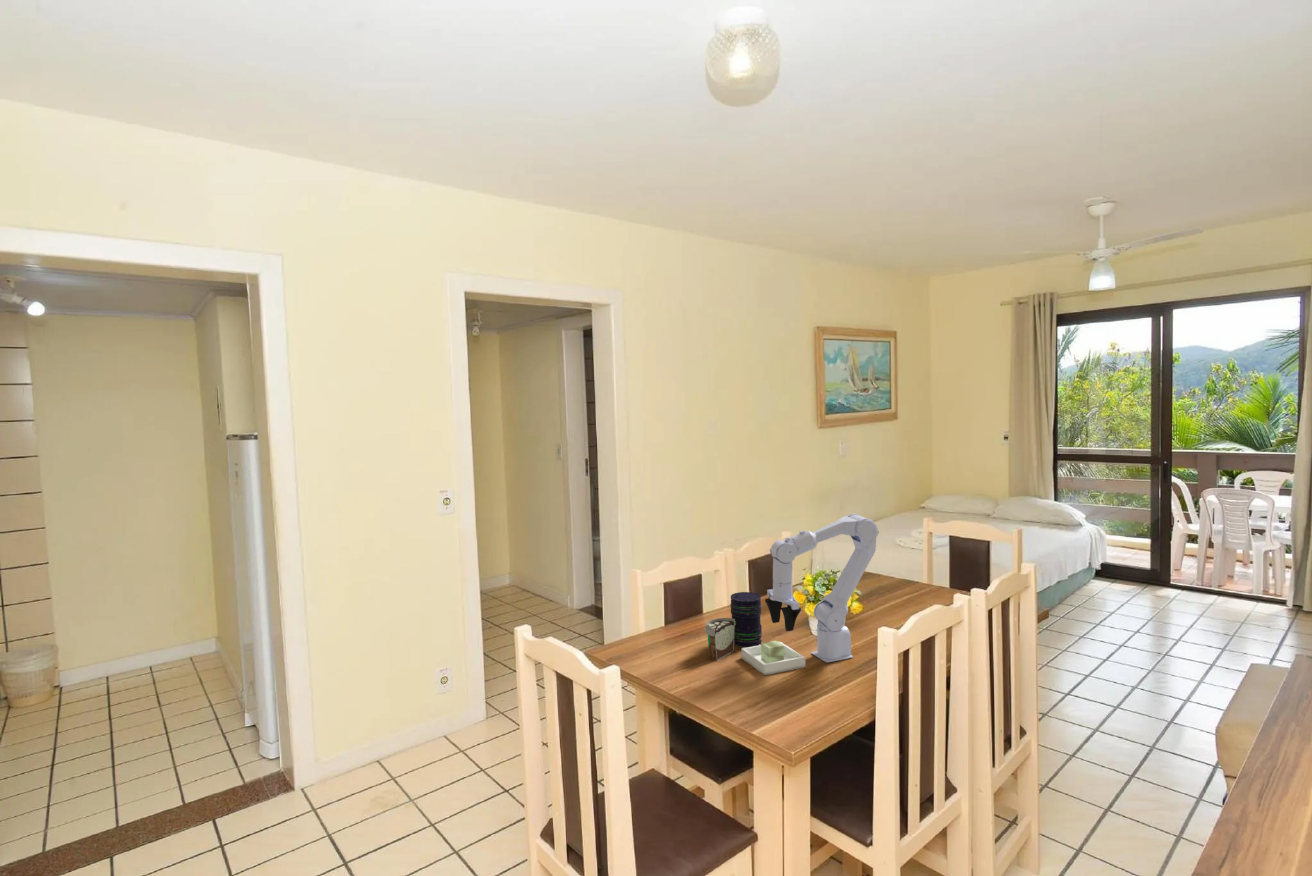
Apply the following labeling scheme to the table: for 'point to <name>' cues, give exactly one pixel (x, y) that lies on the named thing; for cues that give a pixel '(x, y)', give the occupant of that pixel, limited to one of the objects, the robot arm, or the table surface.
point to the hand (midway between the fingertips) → (782, 626)
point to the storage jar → (746, 618)
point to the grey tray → (789, 663)
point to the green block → (772, 651)
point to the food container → (720, 637)
